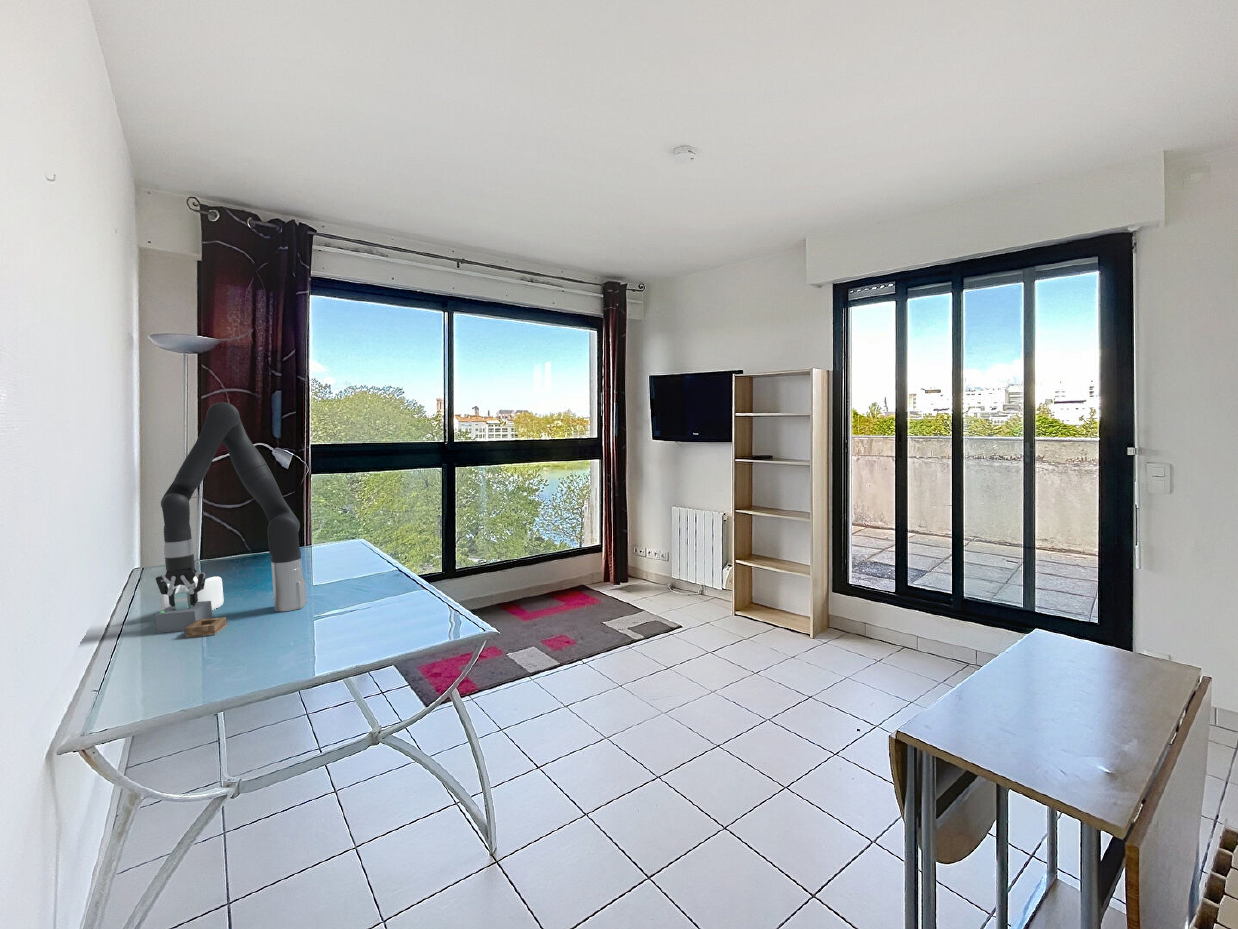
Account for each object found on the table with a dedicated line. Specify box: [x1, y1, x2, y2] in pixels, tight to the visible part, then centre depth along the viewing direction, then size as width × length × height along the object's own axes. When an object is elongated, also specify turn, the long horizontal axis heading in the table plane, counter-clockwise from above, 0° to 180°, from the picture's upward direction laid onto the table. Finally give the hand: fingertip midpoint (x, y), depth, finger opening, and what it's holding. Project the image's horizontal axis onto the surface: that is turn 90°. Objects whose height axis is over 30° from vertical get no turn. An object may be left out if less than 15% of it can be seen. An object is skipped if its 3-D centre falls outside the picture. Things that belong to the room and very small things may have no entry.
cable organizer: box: [158, 576, 225, 612], centre depth 201 cm, size 15×11×12 cm
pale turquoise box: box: [174, 591, 193, 610], centre depth 188 cm, size 4×4×10 cm
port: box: [154, 601, 213, 634], centre depth 189 cm, size 11×11×6 cm
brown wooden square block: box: [184, 616, 227, 639], centre depth 182 cm, size 8×8×3 cm
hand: (183, 605), depth 188 cm, fingers open, 5 cm apart
